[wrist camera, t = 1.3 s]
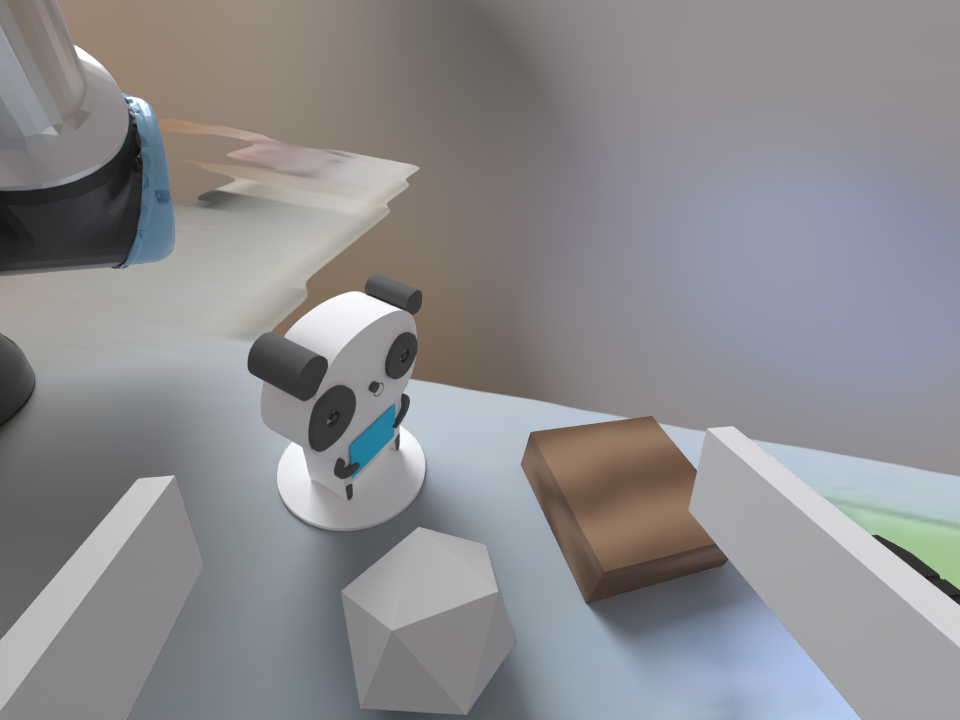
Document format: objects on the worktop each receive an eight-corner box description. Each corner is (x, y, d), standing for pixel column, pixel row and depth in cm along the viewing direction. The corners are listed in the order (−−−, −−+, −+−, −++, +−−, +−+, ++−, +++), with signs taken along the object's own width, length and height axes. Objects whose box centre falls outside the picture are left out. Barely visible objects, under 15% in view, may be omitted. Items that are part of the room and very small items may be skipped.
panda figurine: (358, 568, 30) (354, 401, 21) (235, 489, 33) (188, 315, 25) (450, 454, 39) (474, 303, 30) (346, 400, 42) (340, 250, 34)
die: (528, 651, 28) (509, 493, 28) (506, 795, 20) (477, 568, 19) (400, 647, 30) (380, 499, 30) (327, 777, 21) (298, 570, 21)
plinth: (520, 464, 39) (530, 432, 37) (636, 446, 43) (651, 416, 41) (586, 602, 30) (604, 572, 28) (723, 564, 34) (749, 534, 32)
